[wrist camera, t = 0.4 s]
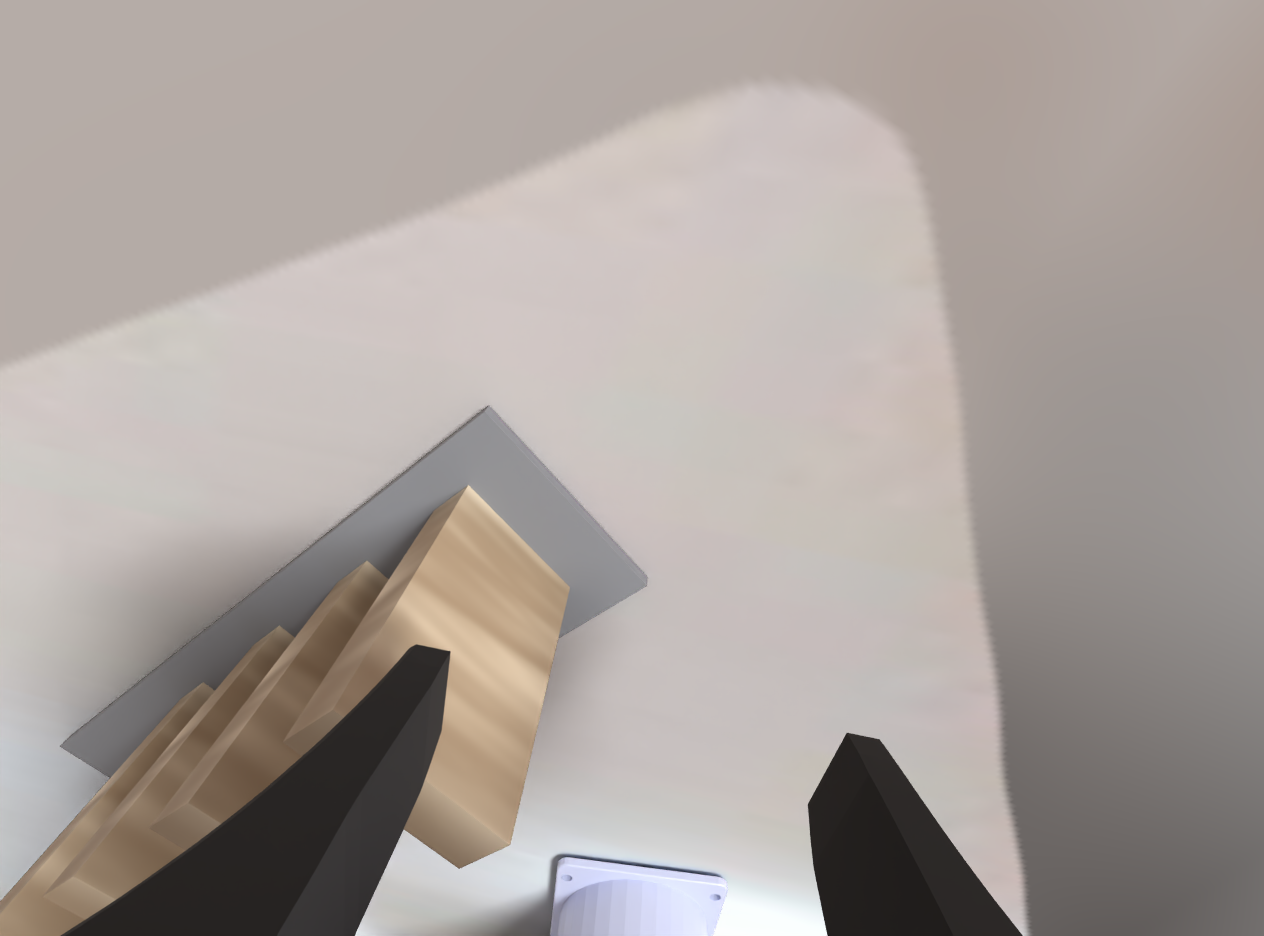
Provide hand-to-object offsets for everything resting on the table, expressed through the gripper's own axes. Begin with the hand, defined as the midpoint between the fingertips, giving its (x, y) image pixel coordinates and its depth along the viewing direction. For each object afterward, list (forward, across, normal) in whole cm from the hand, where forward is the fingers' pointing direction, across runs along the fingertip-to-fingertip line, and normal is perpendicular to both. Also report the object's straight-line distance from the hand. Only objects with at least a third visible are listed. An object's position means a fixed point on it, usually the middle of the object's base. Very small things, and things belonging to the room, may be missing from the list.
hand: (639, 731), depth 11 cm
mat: (+10, +11, +11) cm, 18 cm away
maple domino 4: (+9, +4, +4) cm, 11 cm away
